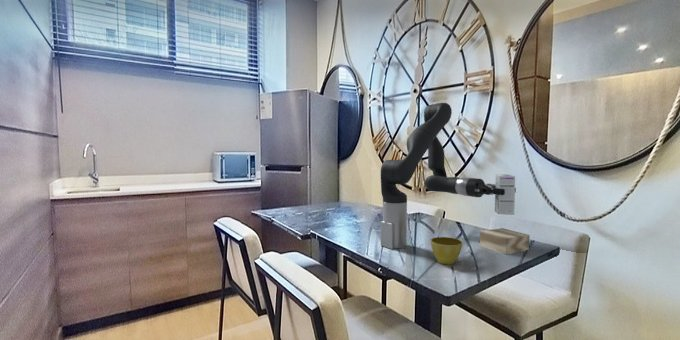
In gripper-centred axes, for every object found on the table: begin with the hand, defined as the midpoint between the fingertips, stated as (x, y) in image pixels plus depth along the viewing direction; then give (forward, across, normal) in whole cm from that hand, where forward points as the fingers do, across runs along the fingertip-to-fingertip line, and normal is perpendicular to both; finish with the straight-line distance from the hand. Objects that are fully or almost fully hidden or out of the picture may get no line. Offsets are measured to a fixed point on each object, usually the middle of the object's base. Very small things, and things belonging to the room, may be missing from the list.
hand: (509, 191), depth 130 cm
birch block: (-1, 0, +22) cm, 22 cm away
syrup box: (-2, 0, +9) cm, 9 cm away
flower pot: (-6, -31, +22) cm, 39 cm away
